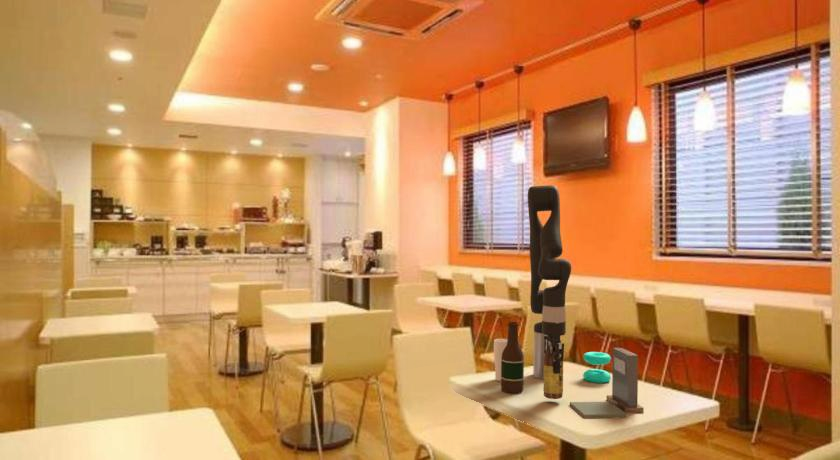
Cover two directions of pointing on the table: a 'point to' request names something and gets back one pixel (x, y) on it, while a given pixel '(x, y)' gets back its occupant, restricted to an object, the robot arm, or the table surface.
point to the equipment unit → (625, 381)
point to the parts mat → (597, 409)
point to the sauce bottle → (552, 377)
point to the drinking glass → (498, 356)
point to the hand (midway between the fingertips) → (553, 370)
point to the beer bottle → (512, 363)
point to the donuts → (597, 374)
